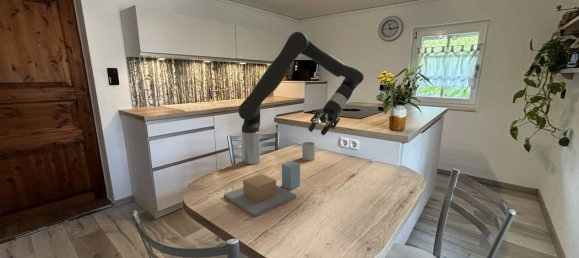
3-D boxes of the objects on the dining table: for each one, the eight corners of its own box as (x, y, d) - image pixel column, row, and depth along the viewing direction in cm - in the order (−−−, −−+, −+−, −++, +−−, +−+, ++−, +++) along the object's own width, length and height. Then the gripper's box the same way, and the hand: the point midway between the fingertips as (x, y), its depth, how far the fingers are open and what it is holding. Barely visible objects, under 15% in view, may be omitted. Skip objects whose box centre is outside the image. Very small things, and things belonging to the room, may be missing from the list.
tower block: (281, 185, 109) (281, 163, 107) (290, 182, 113) (291, 160, 111) (290, 189, 105) (290, 167, 103) (299, 185, 109) (300, 163, 107)
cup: (299, 159, 144) (299, 143, 142) (309, 154, 152) (309, 140, 150) (310, 161, 140) (310, 146, 138) (319, 156, 148) (320, 142, 146)
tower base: (224, 197, 99) (223, 179, 98) (264, 182, 113) (263, 166, 111) (254, 217, 85) (254, 197, 84) (296, 197, 99) (296, 180, 97)
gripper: (320, 98, 120) (301, 124, 116) (342, 100, 109) (322, 130, 105) (328, 108, 124) (310, 134, 121) (350, 112, 113) (331, 140, 109)
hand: (315, 132), depth 113 cm, fingers open, 8 cm apart
